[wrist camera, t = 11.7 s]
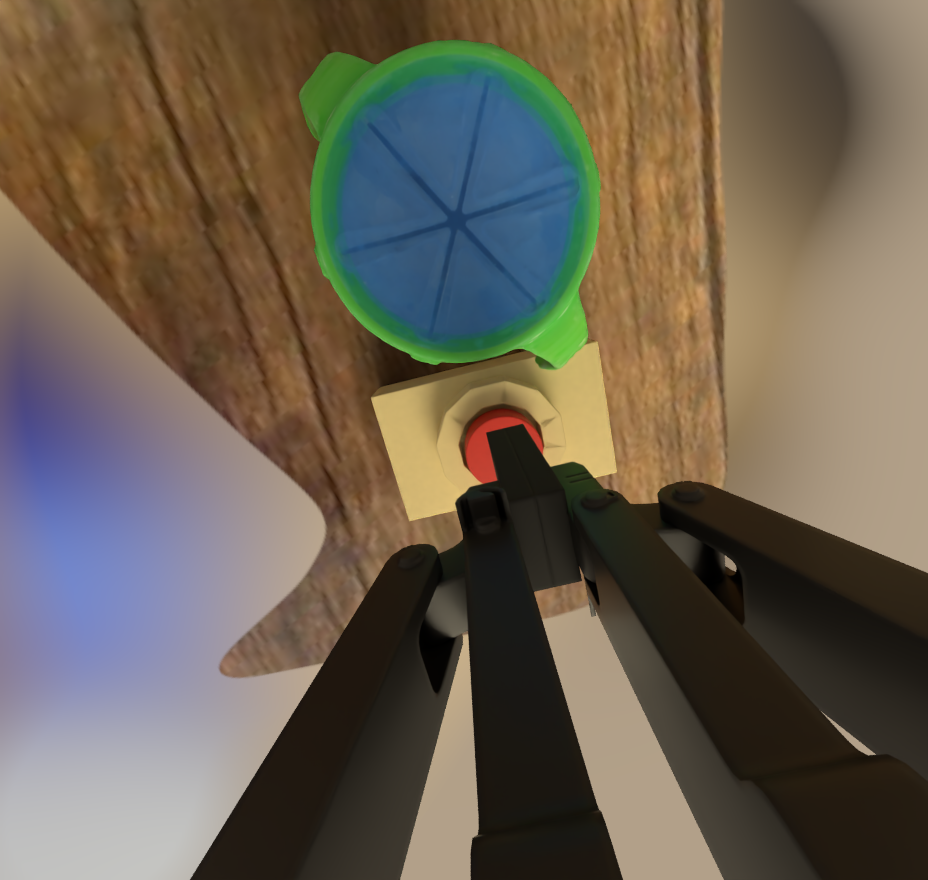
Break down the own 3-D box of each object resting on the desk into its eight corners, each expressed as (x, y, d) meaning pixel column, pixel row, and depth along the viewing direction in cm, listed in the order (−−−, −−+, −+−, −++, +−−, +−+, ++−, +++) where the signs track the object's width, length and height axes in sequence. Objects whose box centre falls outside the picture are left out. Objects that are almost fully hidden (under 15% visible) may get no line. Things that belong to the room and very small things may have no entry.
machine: (413, 499, 30) (406, 536, 25) (379, 387, 27) (364, 404, 23) (600, 455, 29) (629, 484, 24) (581, 336, 27) (609, 343, 22)
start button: (474, 484, 25) (475, 497, 23) (456, 417, 23) (457, 426, 22) (543, 468, 24) (549, 479, 23) (529, 400, 23) (535, 407, 22)
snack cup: (603, 299, 26) (693, 294, 17) (469, 408, 28) (479, 462, 18) (435, 54, 22) (424, -140, 13) (292, 198, 24) (184, 125, 14)
